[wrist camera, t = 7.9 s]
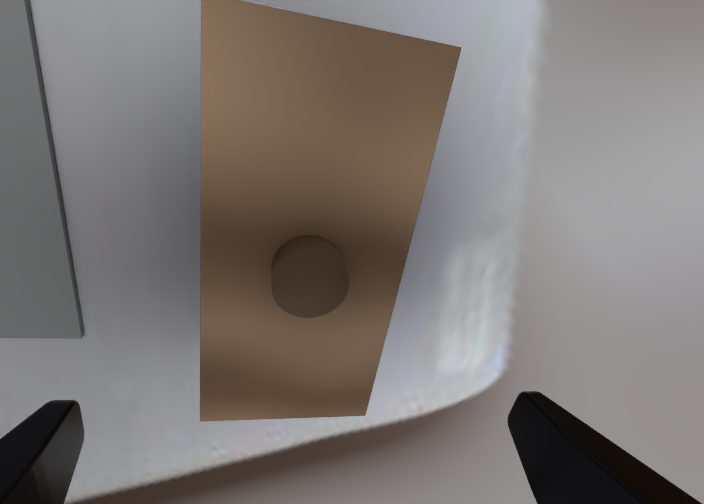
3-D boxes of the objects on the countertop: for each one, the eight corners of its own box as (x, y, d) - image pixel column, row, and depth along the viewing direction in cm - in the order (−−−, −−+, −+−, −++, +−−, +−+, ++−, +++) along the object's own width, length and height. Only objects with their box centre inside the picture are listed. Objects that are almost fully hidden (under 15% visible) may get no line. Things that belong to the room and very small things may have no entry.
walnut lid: (356, 381, 19) (371, 439, 16) (207, 383, 17) (195, 448, 15) (434, 46, 13) (481, 48, 10) (211, -1, 11) (192, -14, 8)
